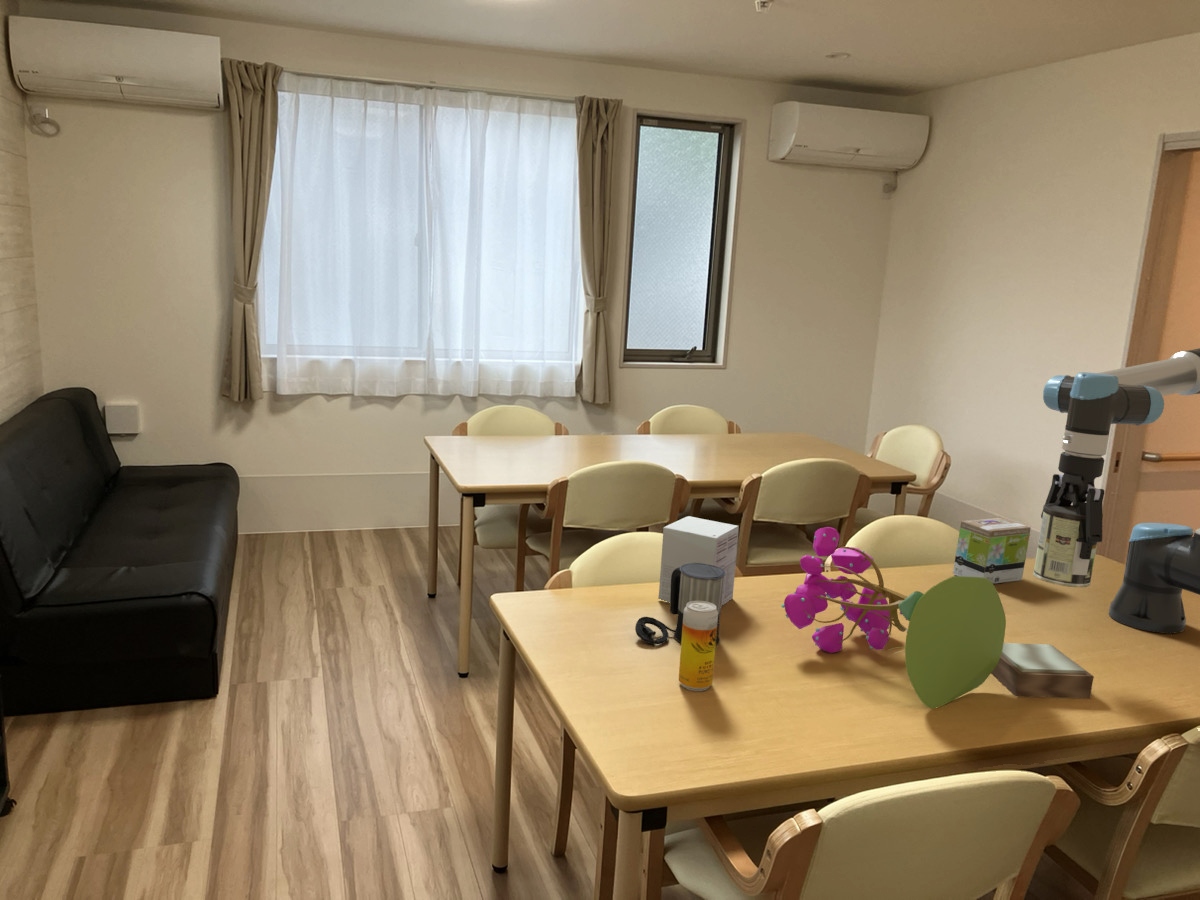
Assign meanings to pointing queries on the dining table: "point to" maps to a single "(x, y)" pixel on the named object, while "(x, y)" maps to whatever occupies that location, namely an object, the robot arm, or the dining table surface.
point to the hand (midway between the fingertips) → (1063, 565)
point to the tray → (1041, 672)
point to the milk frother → (686, 598)
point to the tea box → (992, 549)
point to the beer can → (698, 645)
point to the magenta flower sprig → (936, 619)
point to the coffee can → (1060, 547)
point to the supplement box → (698, 550)
